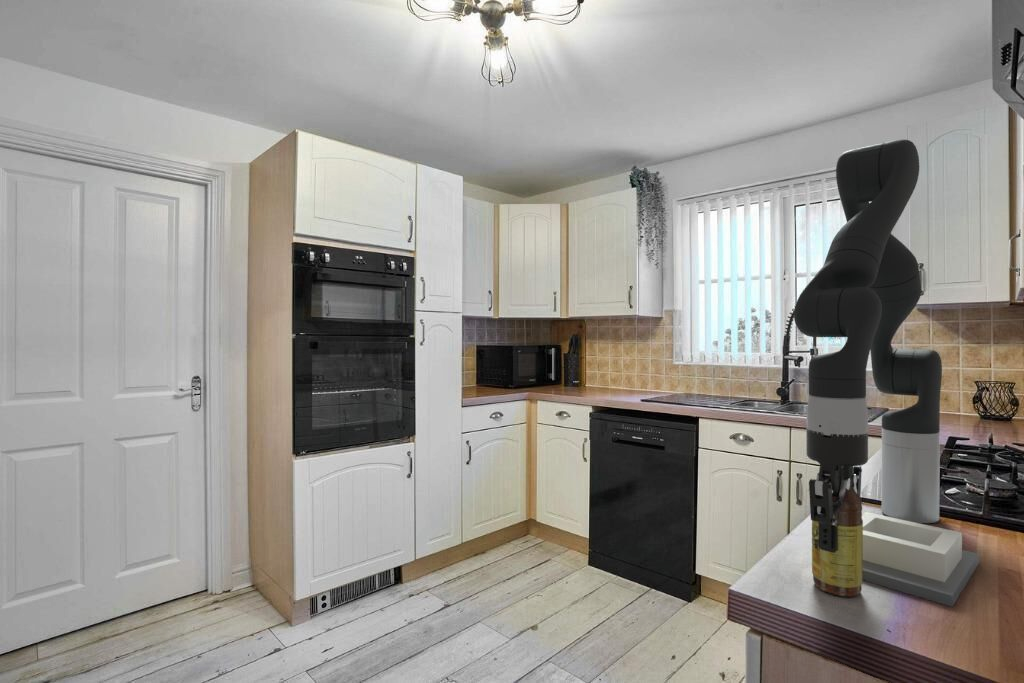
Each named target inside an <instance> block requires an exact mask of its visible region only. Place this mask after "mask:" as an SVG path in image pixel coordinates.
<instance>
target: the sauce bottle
mask: <svg viewBox="0 0 1024 683" xmlns="http://www.w3.org/2000/svg"><path fill="white" fill-rule="evenodd" d="M852 467H853V466H845V465H842V466H841V478H842V479H843V478H850V488H849V490H848V491H847V492H846V498H845V502H844V508H843V509H842V510H839V518H838V524H837V526H838V550H837V551H836V552H834V553H832V552H828V551H825V550H822V549H820V548H819V522H816V521H812V520H811V574H812V578H813V582H814V585H816V588H818V589H819V590H820V591H823V592H826V593H828V594H831V595H835V596H839V597H845V598H854V597H855V596H858V595H860V593H861V592H862V585H863V580H862V577H863V520H862V514H863V513H862V512H863V505H862V500H861V497H860V498H859V495H858V494H857V493H856V492H855V490H854V488H853V487H852V484H853V480H852ZM838 499H839V496H838V497H834V496H832V502H837V501H838ZM817 507H818V506H817ZM823 514H826V509H825V508H823Z"/></svg>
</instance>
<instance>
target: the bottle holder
mask: <svg viewBox="0 0 1024 683" xmlns="http://www.w3.org/2000/svg"><path fill="white" fill-rule="evenodd" d="M862 520H863V577H862V581H864V580H865V582H868V583H871V584H874V585H878V586H881V587H886V588H888V589H891V590H895V591H899V592H901V593H906V594H908V595H911V596H914V597H919V598H921V597H922V598H921V599H924V598H925V599H924V600H929V601H931V600H932V601H931V602H935V603H938V604H941V603H942V605H945V606H948V607H953V606H954V604H955V603H956V601H957V600H958V598H959V596H960V595H961V593H962V591H963V590H964V588H965V586H966V585H967V584H968V582H969V581H970V579H971V577H972V575H973V574H974V572H975V570H976V569H977V567H979V564H980V553H976V552H973V551H969V550H965V549H963V532H960V531H956V530H951V529H947V528H943V527H938V526H933V525H928V524H925V523H916V522H910V521H906V520H901V519H896V518H893V517H890V516H888V515H881V514H878V513H877V514H876V513H873V512H872V513H871V512H869V511H868V512H867V511H865V512H864V513H862Z"/></svg>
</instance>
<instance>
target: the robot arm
mask: <svg viewBox="0 0 1024 683" xmlns="http://www.w3.org/2000/svg"><path fill="white" fill-rule="evenodd" d="M919 175H920V157H919V152H918V149H917V147H916V145H915V143H914V142H913V141H911V140H909V139H896V140H895V139H894V140H889V141H886V142H881V143H877V144H872V145H867V146H862V147H858V148H853V149H849V150H846V151H844V152H843V153H842V154H840V155H839V157H838V158H837V162H836V167H835V177H836V186H837V190H838V193H839V194H838V195H839V198H840V202H841V205H842V210H843V213H844V217H845V219H846V220H845V221H846V223H845V224H844V225H843V226H842V227H841V228H840V229H839V230H838V231H837V233H836V234H835V236H834V237H833V238H832V241H831V243H830V246H829V247H828V248H829V249H828V251H827V254H826V257H825V260H824V264H823V266H822V267H821V268H820V269H819V270H818V272H817V273H816V274H815V275H814V277H812V279H811V280H810V281H809V283H807V285H806V286H805V287H804V288H803V289H802V291H801V293H800V294H799V295H798V298H797V300H796V303H795V305H794V306H795V307H794V311H793V320H794V323H795V326H796V328H797V329H798V330H799V332H800V333H801V334H803V335H805V336H808V337H811V338H847V339H846V341H845V344H844V345H843V347H841V349H840V350H838V351H834V352H831V353H830V352H829V353H824V354H823V353H822V354H818V355H815V356H812V358H810V360H809V363H808V398H807V400H808V401H807V406H806V456H807V458H809V459H810V460H811V461H815V462H817V463H818V464H819V469H818V470H819V471H818V473H817V474H816V478H815V479H814V478H810V479H809V481H808V491H809V508H810V509H809V510H810V512H809V513H810V520H811V522H812V521H816V522H819V548H820V549H822V550H825V551H828V552H832V553H834V552H836V551H837V550H838V526H837V524H838V518H839V510H842V509H843V508H844V502H845V498H846V492H847V491H848V490H849V488H850V478H843V479H842V478H841V466H842V465H845V466H853V467H852V480H853V484H852V487H853V488H854V490H855V492H856V493H857V494H858V495H859V498H860V499H861V494H862V492H861V490H862V489H861V488H862V472H863V469H862V466H863V465H866V464H867V463H868V462H869V411H868V405H867V397H866V396H867V367H868V366H867V365H868V361H869V356H870V360H871V371H872V377H873V378H872V379H873V383H874V385H875V387H876V389H877V391H879V392H880V393H883V394H886V395H887V394H888V395H897V396H898V395H899V396H914V397H918V399H917V402H916V403H914V404H913V405H911V406H909V407H906V408H902V409H898V410H892V411H889V412H885V413H883V414H882V417H881V512H882V514H884V515H885V516H887V517H892V518H896V519H901V520H906V521H910V522H915V523H919V524H933V523H937V522H940V473H941V472H940V467H941V466H940V463H941V462H940V460H941V458H940V452H941V451H940V450H941V448H940V439H941V438H940V436H941V435H940V434H941V433H940V429H941V428H940V422H941V421H940V417H941V416H940V415H941V414H940V413H941V412H940V411H941V410H940V409H941V408H940V406H941V391H942V390H941V389H942V377H943V373H942V372H943V362H942V358H941V356H940V354H939V353H938V351H936V350H934V349H921V348H917V349H915V348H893V346H892V342H893V338H894V336H895V335H896V333H897V331H898V329H899V328H900V327H901V325H902V324H903V323H904V322H905V320H906V319H907V318H908V317H909V316H910V314H911V313H912V312H913V311H914V309H915V307H916V306H917V304H918V302H919V301H920V298H921V296H922V283H921V278H920V277H921V275H920V268H919V267H920V266H919V263H918V260H917V258H916V256H915V255H914V253H912V252H911V250H910V249H909V248H908V247H907V246H906V245H905V244H904V243H903V242H902V241H900V239H898V238H897V237H896V236H894V235H893V234H892V232H893V230H894V229H895V227H896V224H897V223H898V222H899V219H900V218H901V216H902V214H903V213H904V210H905V208H906V207H907V205H908V203H909V201H910V199H911V197H912V195H913V193H914V190H915V189H916V186H917V183H918V180H919ZM832 496H834V497H838V496H839V499H838V501H837V502H832ZM817 506H818V507H817ZM823 508H825V509H826V514H823Z"/></svg>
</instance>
